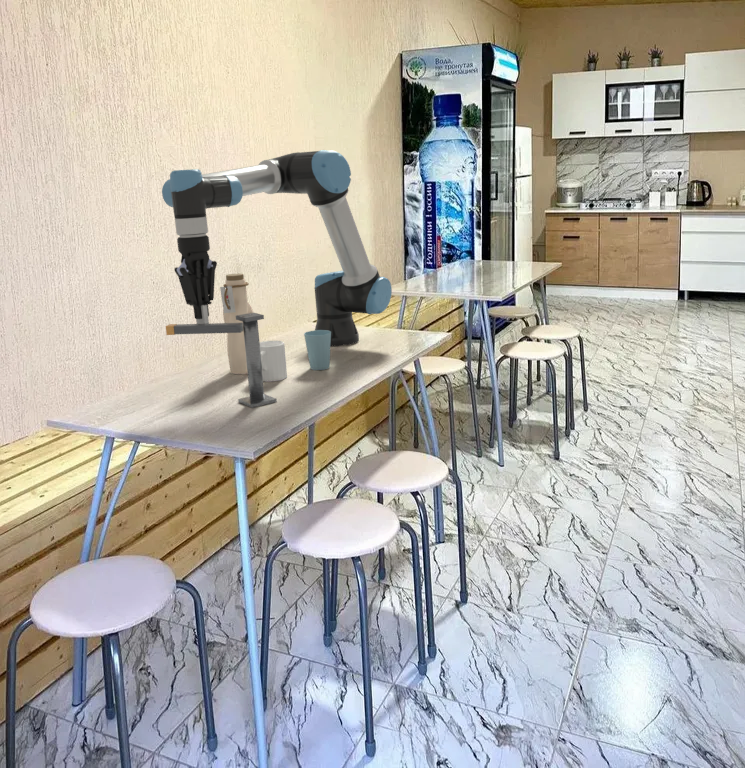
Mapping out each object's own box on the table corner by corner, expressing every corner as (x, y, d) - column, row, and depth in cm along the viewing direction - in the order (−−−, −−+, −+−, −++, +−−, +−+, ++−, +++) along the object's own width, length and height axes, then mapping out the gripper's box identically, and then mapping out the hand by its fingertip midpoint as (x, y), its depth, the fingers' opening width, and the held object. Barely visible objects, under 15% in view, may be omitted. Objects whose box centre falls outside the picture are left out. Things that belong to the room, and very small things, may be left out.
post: (263, 396, 201) (255, 311, 195) (276, 401, 196) (269, 314, 190) (238, 402, 197) (230, 315, 191) (251, 407, 192) (243, 319, 186)
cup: (303, 371, 224) (301, 335, 222) (309, 364, 232) (307, 330, 229) (330, 371, 223) (328, 335, 221) (334, 364, 231) (332, 329, 228)
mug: (248, 385, 212) (244, 350, 210) (264, 374, 224) (261, 340, 221) (276, 385, 211) (273, 350, 208) (290, 374, 222) (288, 340, 219)
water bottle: (252, 376, 222) (242, 277, 214) (222, 376, 224) (211, 278, 216) (264, 367, 232) (255, 272, 224) (235, 367, 233) (225, 272, 226)
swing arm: (243, 330, 193) (242, 322, 193) (240, 333, 191) (239, 324, 190) (170, 332, 196) (169, 324, 195) (166, 335, 193) (165, 326, 193)
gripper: (199, 232, 197) (209, 324, 204) (161, 238, 186) (174, 335, 193) (222, 232, 194) (232, 326, 200) (185, 238, 183) (197, 337, 189)
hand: (203, 330), depth 196 cm, fingers closed
